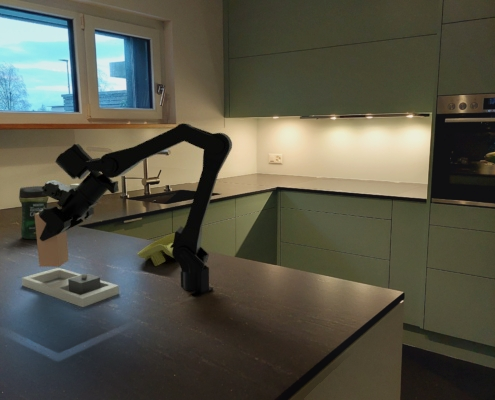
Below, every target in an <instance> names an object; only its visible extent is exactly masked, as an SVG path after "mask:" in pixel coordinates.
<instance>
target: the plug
mask: <svg viewBox="0 0 495 400" xmlns="http://www.w3.org/2000/svg"><path fill="white" fill-rule="evenodd" d="M58 208H59V209H61V207H58ZM42 210H43V209H42ZM42 210H40V211H39V212H38V213H36V214H35V225H36V235H37V239H36V243H37V244H36V245H37V254H38V255H37V256H38V264H39V265H38V266H39V267H40V268H41V267H44V268H47V267H49V268H50V267H51V268H52V267H53V268H54V267H56V268H60V267H61V266H63V265H64V264H65V263H67V262H68V261H69V249H68V236H67V235H68V234H67V230H66V231H64V232H62V233H60V234H58V235H56V236H54V237H51V238H49V239H47V240H45V241H41V240H40V236H41V234H42V232H43V230H44V228H45V226H46V223H45V222H44V221H43V220H42V219H41V218H40V217H39V214H40V213H41V212H42Z"/></svg>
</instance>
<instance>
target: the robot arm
mask: <svg viewBox="0 0 495 400" xmlns="http://www.w3.org/2000/svg"><path fill="white" fill-rule="evenodd" d="M183 142H185V143H187V144H190V145H192V146H195V147H197V148H199V149H202V150H203V154H202V169H201V174H200V177H199V180H198V184H197V187H196V190H195V193H194V196H193V199H192V204H191V207H190V209H189V213H188V216H187V219H186V223H185V225H184V227H183V226H179V227H178V228H177V229H176V230H175V232H174V234H175V236H174V242H173V244H172V245H171V247H170V248H173V250H172V256H173V257H174V258H173V259H174V261H176V262H177V263H178V264H179V267H180V270H181V271H180V287H181V288H183V289H184V290H185V291H186V292H191V294H190V293H189V296H191V297H195V298H199V297H200V296H203V295H205V294H207V293H210V292H212V291H213V290H214V287H212V286H210V268H209V267H208V265H207V264H206V263H207V262H208V260H209V257H210V254H209V253H208V252H207V251H206V250H205V249H204V248H203V247H202V246H201V244H202V238H203V237H202V235H203V226H204V225H203V224H204V221H205V218H206V215H207V211H208V209H209V205H210V202H211V200H212V199H211V198H212V195H213V193H214V189H215V185H216V182H217V179H218V177H219V173H220V171H221V169H222V168H223V166H224V164H225V162H226V161H227V159H228V157H229V155H230V152H231V151H232V148H233V142H232V140H231V137H229V135H228V134H226V133H223V132H215V133H212V132H209V131H207V130H204V129H200V128H198V127H195V126H193V125H191V124H189V123H185V122H183V123H179V124H177V125H176V126H175V127H174V128H171V129H169V130H167V131H164V132H163V133H160V134H158V135H156V136H154V137H151V138H150V139H148V140H146V141H143V142H141V143H138V144H137V145H134V146H132V147H128V148H124V149H120V150H115V151H112V152H111V151H110V152H108V153H105V154H103V155H102V156H101V157H96V158H92V156H90V155H89V154H88V153H87V152H86V151H85V149H84V148H83V147H82V146H81V144H79V143H74V144H73V145H71V147H69V148H68V149H66V150H64V151H63V152H61V153H60V154H59V155H58V157H56V159H55V164H57V166H59V167H60V168H61V170H63V172H65V173H66V174H67V175H68V176H69V177H70V178H71V179H72V180H75V179H78V180H82V181H80V183H78V184H79V185H78V186H77V187H76V188H74V189H73V188H71V187H70V185H66V184H65V183H63V182H61V181H58V180H55V179H53V180H49V181H46V182H45V184H44V185H42V186H43V187H42V189H43V193H42V194H43V195H45V196H49V198H51V199H53V200H55V201H57V202H56V204H57V205H58V206H59V207H58V206H54V205H53V206H51V205H50V206H47V208H45V209H43V210H42V212H41V213H40V214H39V217H40V218H41V219H42V220H43V221H44V222H45V223H46V226H45V228H44V230H43V232H42V234H41V236H40V240H41V241H45V240H47V239H49V238H51V237H54V236H56V235H58V234H60V233H62V232H64V231H66V232H67V231H68V230H69V229H73V227H76V226H78V225H80V224H82V223H84V220H85V221H86V220H90V219H91V218H92V216H93V215H94V214H95V209H94V208H93V207H95V206H96V205H97V204H98V203H99V202H98V201H99V200H100V199H101V198H102V197H103V196H104V195H105V194H106V193H107V191H109V192H110V193H111V194H116V193H118V192H119V181H118V180H116V181H115V180H112V179H113V178H117V177H119V176H123V175H125V174H127V173H128V172H129V171H131V170H132V169H134V168H136V167H137V166H138V165H139V164H140V163H142V162H143V161H145V160H146V159H148V158H151V157H153V156H155V155H158V154H159V153H162V152H164V151H166V150H169V149H171V148H173V147H174V146H177V145H178V144H181V143H183ZM59 208H60V209H59Z"/></svg>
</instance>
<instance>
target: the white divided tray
mask: <svg viewBox="0 0 495 400" xmlns="http://www.w3.org/2000/svg"><path fill="white" fill-rule="evenodd" d="M82 274H83V273H81V274H80V273H78V272H75V271H72V270H69V269H68V270H67V269H63V268H62V267H61V268H60V267H56V268H52V269H49V270H46V271H45V270H44V271H41V272H37V273H34V274H30V275H28V276H27V275H26V276H24V277H21V285H22V287H25V288H28V289H31V290H33V291H36V292H39V293H42V294H43V295H44V294H45V295H47V296H50V297H53V298H56V299H58V300H61V301H64V302H67V303H70V304H72V305H75V306H78V307H80V308H84V307H85V308H86V307H88V306H90V305H92V304H96V303H98V302H100V301H104V300H106V299H109V298H112V297H114V296H117V295H120V287H119V285H118V284H116V283H111V282H109V281H105V280H101V279H100V289H97V290H94V291H91V292H88V293H85V294H82V295H78V294H76V293H73V292H70V291H69V284H68V279H70V278H74V277H77V276H80V275H82Z"/></svg>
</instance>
